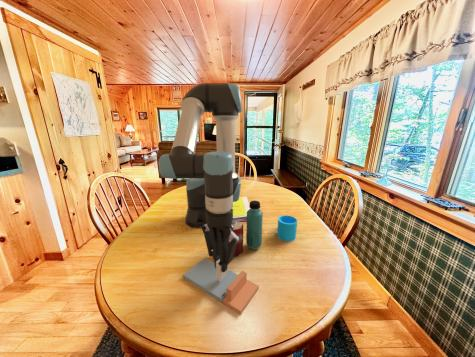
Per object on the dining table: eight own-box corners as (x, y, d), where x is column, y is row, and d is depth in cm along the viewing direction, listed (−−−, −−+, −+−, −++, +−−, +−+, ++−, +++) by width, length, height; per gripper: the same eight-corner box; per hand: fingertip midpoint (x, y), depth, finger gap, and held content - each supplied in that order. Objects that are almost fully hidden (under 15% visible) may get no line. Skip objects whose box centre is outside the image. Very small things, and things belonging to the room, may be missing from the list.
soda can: (224, 246, 79) (223, 220, 76) (242, 245, 80) (242, 219, 76) (224, 258, 72) (224, 230, 69) (244, 257, 73) (244, 229, 69)
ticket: (183, 277, 63) (183, 274, 63) (204, 260, 71) (204, 257, 71) (221, 302, 54) (221, 298, 54) (241, 279, 62) (241, 275, 62)
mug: (297, 241, 82) (299, 224, 80) (278, 241, 83) (279, 224, 80) (291, 226, 94) (292, 211, 92) (274, 226, 94) (275, 211, 92)
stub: (223, 303, 54) (222, 289, 53) (242, 280, 62) (242, 267, 61) (240, 314, 51) (240, 300, 50) (258, 288, 59) (259, 276, 58)
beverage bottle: (263, 244, 81) (265, 199, 75) (259, 254, 75) (261, 206, 69) (248, 241, 83) (249, 197, 77) (243, 250, 77) (244, 204, 71)
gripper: (192, 207, 54) (197, 276, 61) (230, 220, 47) (231, 296, 53) (210, 199, 60) (213, 262, 66) (246, 209, 53) (245, 279, 59)
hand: (221, 277), depth 60 cm, fingers closed
